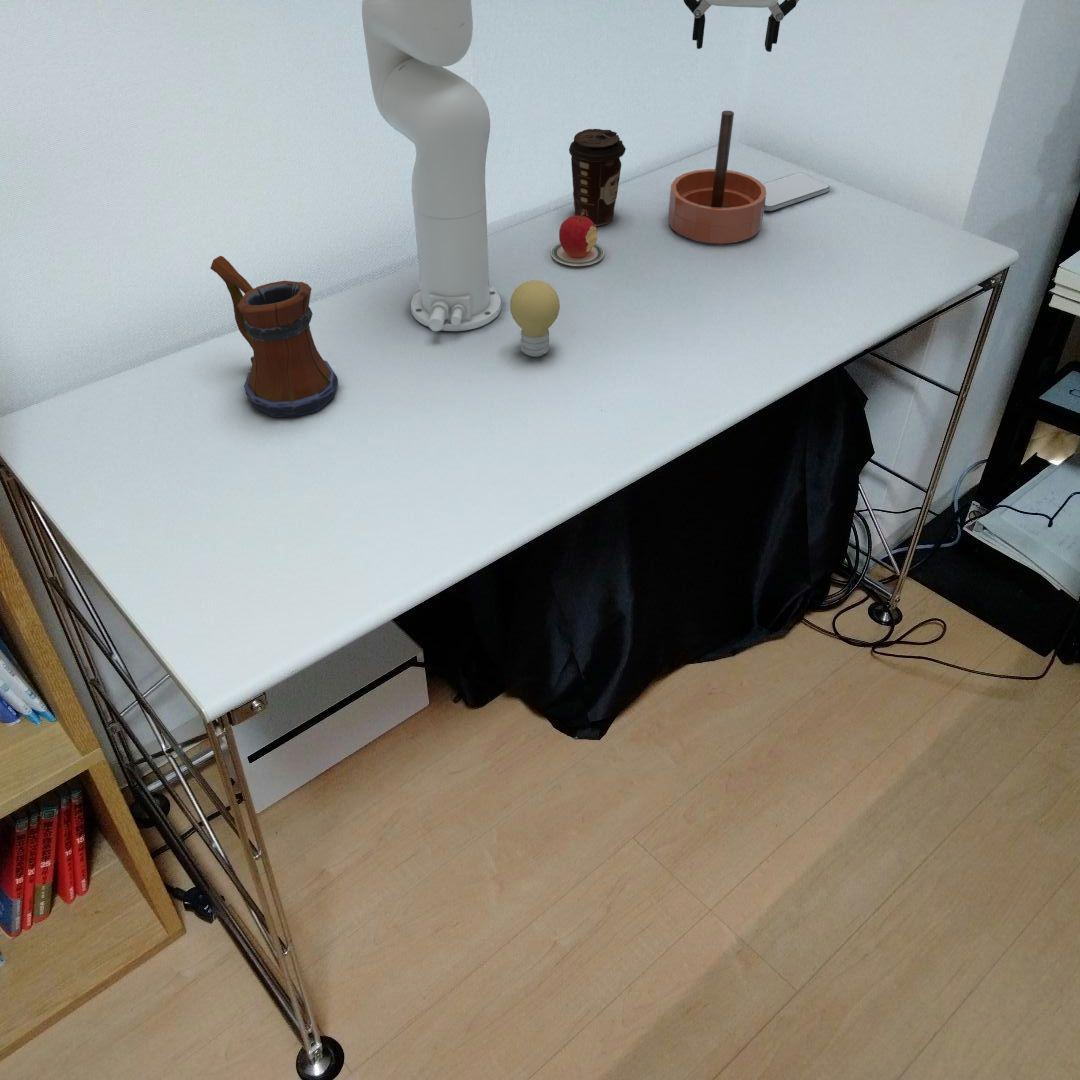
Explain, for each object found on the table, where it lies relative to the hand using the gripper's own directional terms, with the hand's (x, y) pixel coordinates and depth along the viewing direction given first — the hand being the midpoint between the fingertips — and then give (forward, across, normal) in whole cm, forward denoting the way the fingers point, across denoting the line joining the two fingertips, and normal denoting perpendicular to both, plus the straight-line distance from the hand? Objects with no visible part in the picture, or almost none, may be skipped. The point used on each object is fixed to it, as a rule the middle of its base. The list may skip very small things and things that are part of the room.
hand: (733, 47), depth 146 cm
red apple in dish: (+27, -20, -12) cm, 36 cm away
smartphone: (+27, +13, +12) cm, 32 cm away
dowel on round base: (+26, +1, +1) cm, 26 cm away
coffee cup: (+27, -18, +2) cm, 33 cm away
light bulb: (+28, -24, -38) cm, 53 cm away
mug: (+28, -56, -48) cm, 80 cm away
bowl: (+27, +1, 0) cm, 27 cm away
